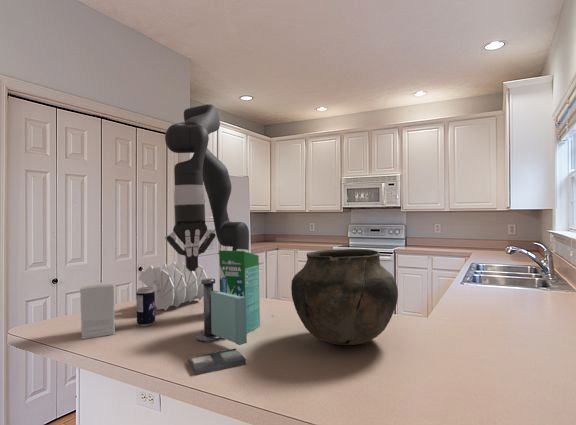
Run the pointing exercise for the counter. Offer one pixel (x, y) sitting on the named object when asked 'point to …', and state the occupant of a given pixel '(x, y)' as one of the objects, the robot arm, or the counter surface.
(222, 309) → the swing panel
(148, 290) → the beverage can
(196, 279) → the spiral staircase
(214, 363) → the tray
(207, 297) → the post
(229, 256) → the milk carton
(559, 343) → the counter surface
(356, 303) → the pot
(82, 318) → the supplement box
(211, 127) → the robot arm
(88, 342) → the counter surface
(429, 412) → the counter surface
